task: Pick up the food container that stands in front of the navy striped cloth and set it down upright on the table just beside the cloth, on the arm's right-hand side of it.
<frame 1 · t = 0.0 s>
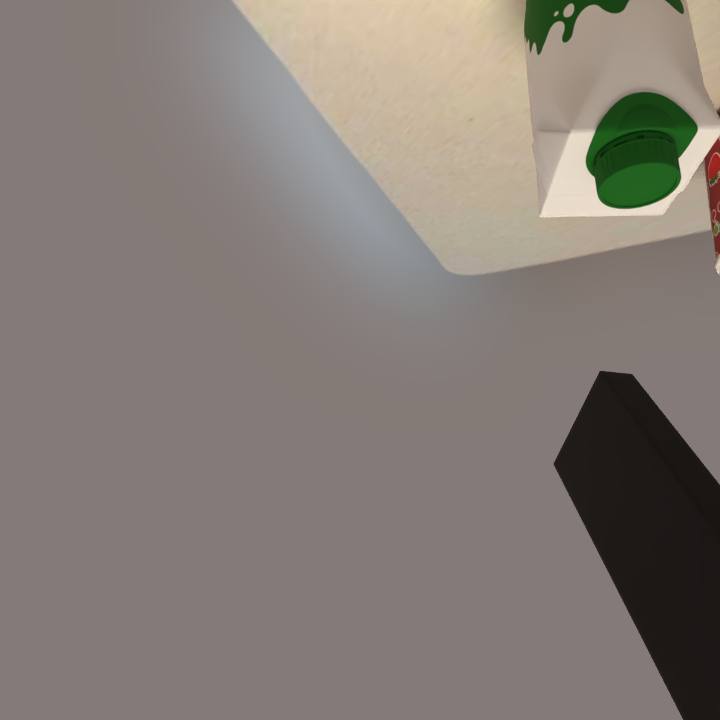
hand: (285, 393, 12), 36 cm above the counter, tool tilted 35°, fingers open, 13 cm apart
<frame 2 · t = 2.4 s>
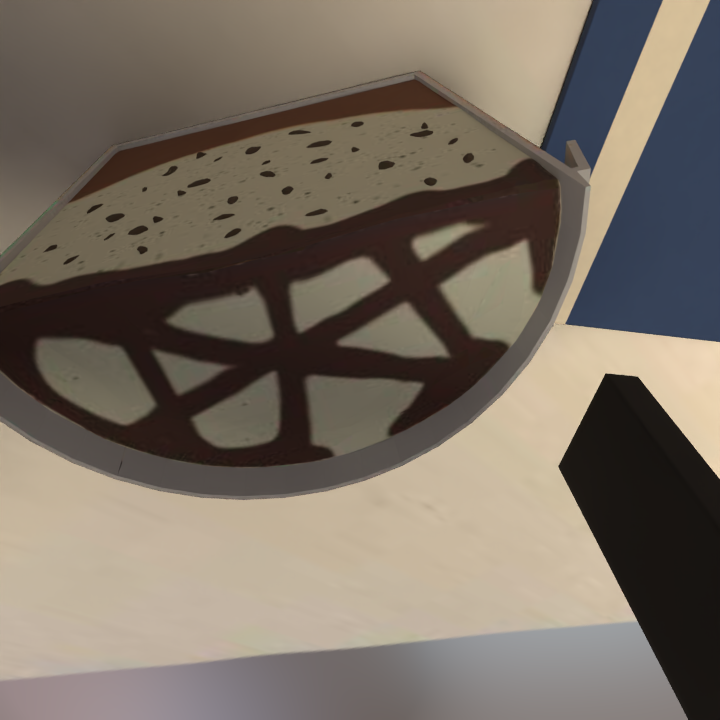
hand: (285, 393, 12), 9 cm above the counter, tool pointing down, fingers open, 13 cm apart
food container: (292, 203, 20), on the counter
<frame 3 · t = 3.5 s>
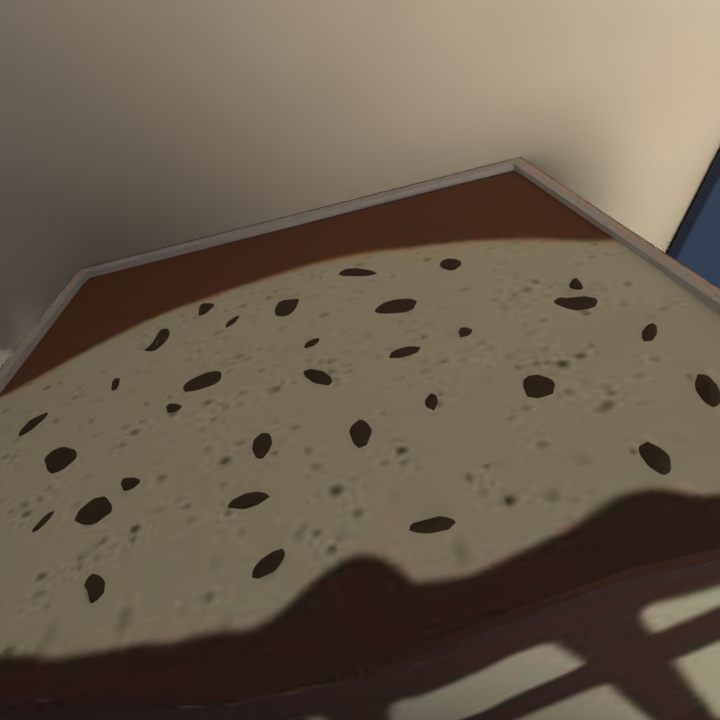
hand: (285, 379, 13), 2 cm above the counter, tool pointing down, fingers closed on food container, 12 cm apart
food container: (331, 331, 14), on the counter, touching gripper
when the fingers open (2 cm above the counter, at t = 10.6 s): food container stays where it is, on the counter.
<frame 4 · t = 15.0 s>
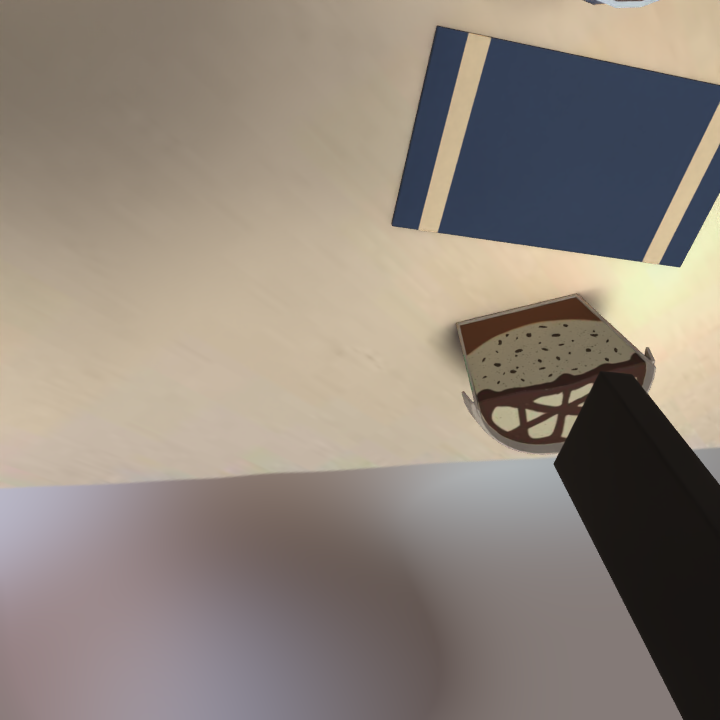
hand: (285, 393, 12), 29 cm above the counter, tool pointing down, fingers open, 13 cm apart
cloth: (573, 161, 40), on the counter
food container: (518, 339, 48), on the counter
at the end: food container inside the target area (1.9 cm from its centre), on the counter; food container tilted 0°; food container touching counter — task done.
